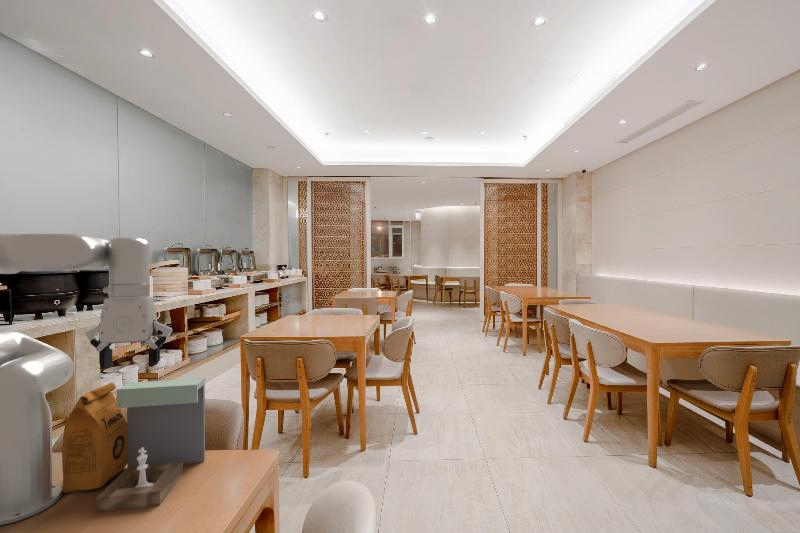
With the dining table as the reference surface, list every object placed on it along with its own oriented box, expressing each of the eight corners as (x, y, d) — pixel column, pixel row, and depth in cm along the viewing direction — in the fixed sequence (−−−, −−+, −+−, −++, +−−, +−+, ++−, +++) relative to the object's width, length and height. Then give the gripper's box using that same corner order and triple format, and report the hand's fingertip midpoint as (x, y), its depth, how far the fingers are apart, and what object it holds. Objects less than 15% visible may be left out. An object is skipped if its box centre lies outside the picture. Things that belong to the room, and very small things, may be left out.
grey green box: (117, 478, 88) (116, 389, 89) (129, 466, 94) (129, 382, 94) (197, 470, 92) (196, 384, 92) (205, 459, 97) (204, 378, 97)
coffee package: (136, 464, 95) (136, 379, 95) (100, 494, 82) (99, 396, 82) (96, 466, 94) (96, 380, 94) (53, 496, 82) (53, 397, 82)
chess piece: (141, 499, 80) (141, 454, 80) (123, 497, 81) (123, 452, 81) (160, 486, 85) (160, 443, 85) (143, 484, 86) (142, 441, 86)
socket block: (96, 512, 76) (96, 497, 76) (128, 479, 88) (128, 467, 88) (159, 505, 78) (159, 491, 78) (182, 474, 90) (182, 462, 90)
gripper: (75, 293, 79) (75, 373, 79) (163, 292, 82) (164, 368, 82) (97, 291, 86) (98, 364, 86) (178, 290, 89) (178, 360, 89)
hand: (130, 366), depth 84 cm, fingers open, 9 cm apart
